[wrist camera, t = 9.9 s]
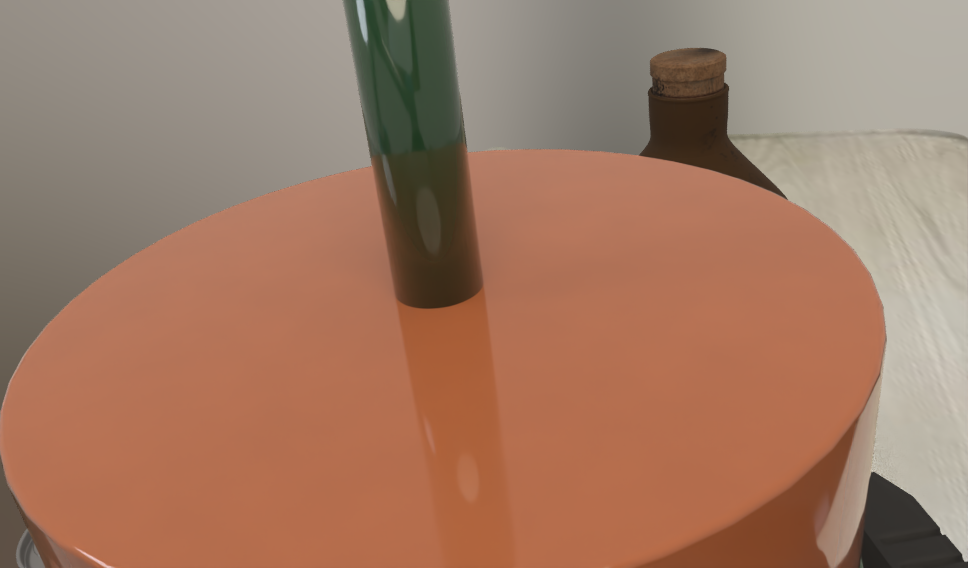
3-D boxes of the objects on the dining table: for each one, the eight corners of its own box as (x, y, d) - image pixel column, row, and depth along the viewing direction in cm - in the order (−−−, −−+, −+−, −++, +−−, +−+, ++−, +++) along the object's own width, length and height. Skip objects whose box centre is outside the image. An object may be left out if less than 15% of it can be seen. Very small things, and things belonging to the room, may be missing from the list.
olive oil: (798, 592, 43) (832, 85, 31) (581, 569, 46) (541, 97, 34) (788, 453, 52) (812, 21, 40) (607, 442, 55) (582, 35, 43)
